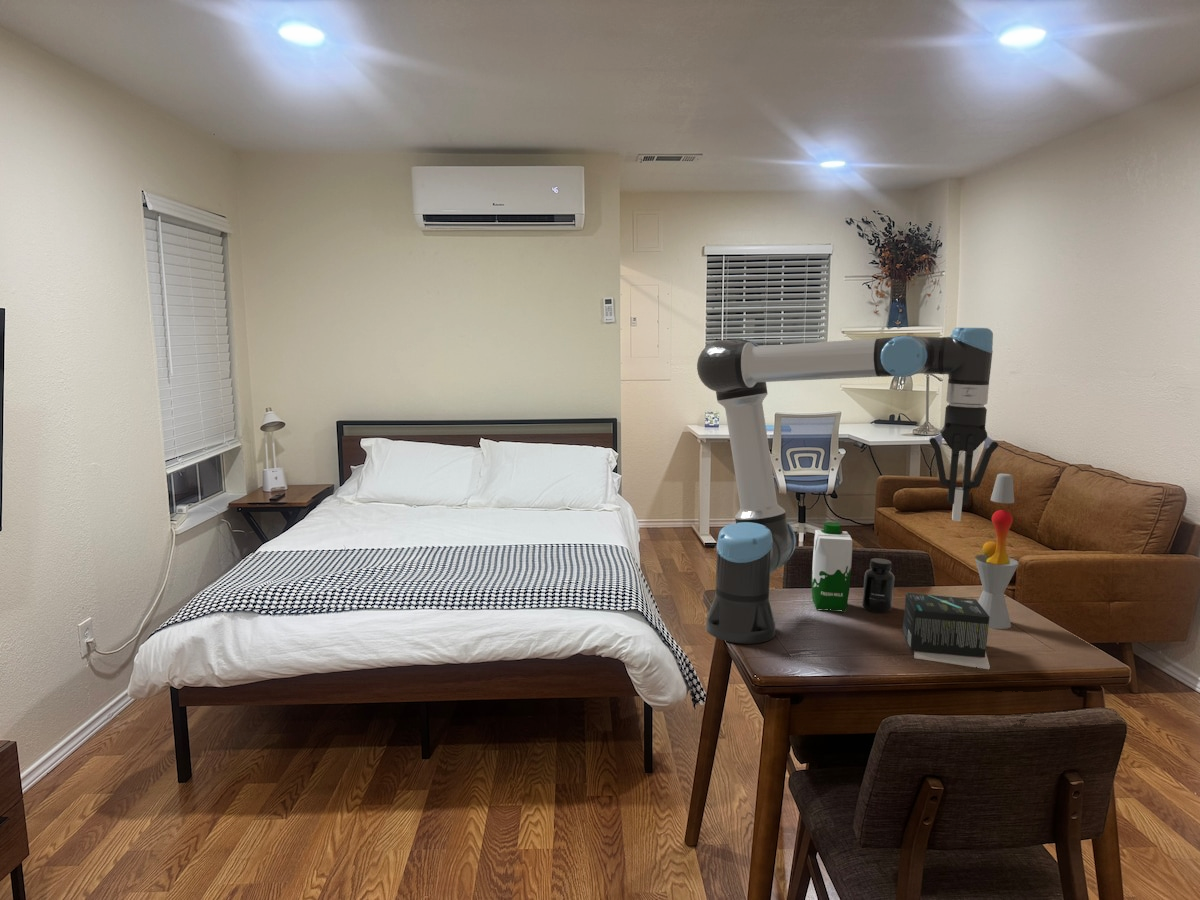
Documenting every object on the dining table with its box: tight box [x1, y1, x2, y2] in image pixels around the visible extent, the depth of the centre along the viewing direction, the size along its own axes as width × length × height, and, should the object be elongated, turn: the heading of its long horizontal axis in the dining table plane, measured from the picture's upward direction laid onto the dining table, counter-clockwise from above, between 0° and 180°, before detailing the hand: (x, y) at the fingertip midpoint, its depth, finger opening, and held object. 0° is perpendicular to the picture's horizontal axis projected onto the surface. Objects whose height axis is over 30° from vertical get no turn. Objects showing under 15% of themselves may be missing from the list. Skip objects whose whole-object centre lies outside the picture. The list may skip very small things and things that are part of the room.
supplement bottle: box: [861, 557, 895, 614], centre depth 191 cm, size 7×7×12 cm
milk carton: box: [811, 521, 853, 612], centre depth 191 cm, size 9×9×20 cm
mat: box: [913, 651, 991, 670], centre depth 166 cm, size 14×13×1 cm
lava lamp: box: [974, 473, 1019, 630], centre depth 181 cm, size 9×9×35 cm
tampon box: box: [902, 592, 990, 657], centre depth 167 cm, size 11×9×15 cm
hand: (956, 519), depth 162 cm, fingers closed
